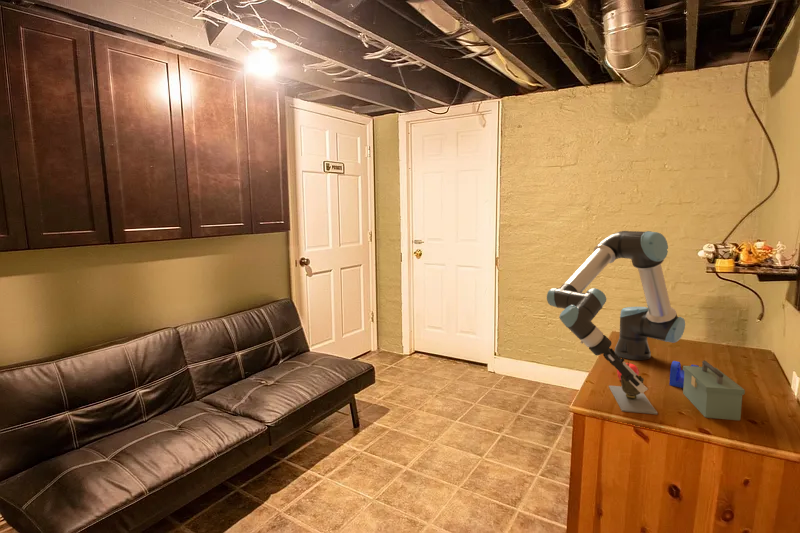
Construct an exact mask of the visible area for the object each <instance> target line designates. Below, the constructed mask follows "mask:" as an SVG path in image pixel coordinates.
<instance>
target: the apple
mask: <svg viewBox="0 0 800 533" xmlns="http://www.w3.org/2000/svg"><path fill="white" fill-rule="evenodd" d="M625 363H626V364H627V365H628V366H629V367H630V368H631V369H632V370H633V371H634V372H635V373H636V374H637V375H638V376H640V375H639V374H640V372H639V368H638V367H637V365H635V364H633V363H630V362H629V361H628V362H625ZM616 373H617V378H618V379H619V380H620V381H621V375H622V374H621V373H620V372H619V371H618V370H617V369H616ZM635 377H636V376H635Z"/></svg>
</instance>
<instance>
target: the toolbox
mask: <svg viewBox="0 0 800 533" xmlns="http://www.w3.org/2000/svg"><path fill="white" fill-rule="evenodd" d="M701 363H702V366H699V367H696V366H691V365H682V370H684V386H683V388H682V393H683V395H684V396H685V397H686V398H687V399H688V401H689V402H690V403H691V404H692V405H693V406H694V408H696V409H697V410H698V412H699V413H700V414H701V415H703V417H704V418H706V419H719V420H721V419H722V420H731V421H741V415H742V403H743V396H744V395H745V394H746V390H745V389H744V388H743V387H742V386H741V385H739V384H738V383H736V381H734V380H733V379H732V378H730V377H729V376H728V375H726V374H725V373H724V372H722V371H721V370H720V369H719V368H717V367H715V366H713V365H712V364H710V363H709V362H708V361H707V360H702V362H701Z"/></svg>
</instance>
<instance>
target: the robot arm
mask: <svg viewBox="0 0 800 533" xmlns="http://www.w3.org/2000/svg"><path fill="white" fill-rule="evenodd" d="M668 249H669V245H668V241H667V239H666V237H665V236H664V235H663V234H662V233H660V232H658V231H657V232H656V231H649V230H647V231H639V230H638V231H637V230H636V231H634V230H621V231H617V232H615V233H612V234H610V235H609V236H606V237H605V238H603V239H602V240H601V241H600V242H598V243H597V244H596V246H595V247H594V248H593V252H592V253H591V254H590V255H589V256H588V258H587V259H585V261H583V263H582V264H581V265H579V267H578V268H577V269H576V270H575V271H574V272H573V273H572V274H571V275H570V276H569V277H568V279H566V280H565V281H564V283H563V284H562V285H561V286H560V287H559V288H558V287H552V288H550V289H549V290H548V291H547V294H546V301H547V303H548V305H549V306H551V307H554V308H558V309H562V311H561V312H560V313H559V317H558V318H559V320H560V321H561V323H562V324H564V326H565V327H566V328H567V329H569V331H571V332H572V333H573V335H575V336H576V337H577V338H578V339H579V340H580V344H581V345H582V344H584V345H585V347H587V348H588V349H589V350H590V351H591V353H593V354H594V356H601V355H602V356H603V358H604V359H605V360H606V361H607V362H609V363H610V365H611V366H612V367H614V368H615V369H616V371H617V370H618V371H619V372H620V373H621V374H622V375H623V376H624V377H625V378H626V380H625V381H626V382H627V381H629V382H630V383H631V384H632V385H633V386H634V387H635V388H636V389H637V390H638V391H639V392H640V393H641V394H642V393H644V394H645V392H647V391H648V390H649V388H648V387H647V386H645V384H644V383H643V384H642V383H641V382H640V381H639V380H638V379H637V378H636V377H635V376H636V375H637V374H636V373H635V372H634V371H633V370H632V369H631V368H630V367H629V366H628V365H627V364H626V363H627V362H625V359H626V360H634V361H646V360H649V359H651V356H652V354H651V350H650V346H649V342H648V338H650V339H654V340H658V341H662V342H665V343H667V342H668V343H672V344H673V343H674V344H675V343H677V342H678V341H680V339H682V337H683V335H684V332H685V330H686V320H685V319H684V318H683V317H682V316H678V314H677V310H676V309H675V308H673V307H672V306H671V302H670V298H669V293H668V290H667V289H668V288H667V285H666V281H665V275H664V272H663V268H662V264H663V262H664V261H665V259H666V258H667V255H668V253H669V251H668ZM617 259H626V260H627V259H629V260H631V262H632V266H633V267H634V268H636V269H637V271H638V274H639V278H640V282H641V286H642V290H643V293H644V297H645V301H646V305H647V306H627V307H624V308H622V309H621V310H620V316H619V337H618V341H617V342H616V345H615V347H614V349H613V348H611V346H612V341H611V339H610V338H609V337H608V336H606V335H605V334H604V333H603V332H602V331H601V330H600V328H598V326H596V325H595V324H594V322H592V321H593V319H594V318H595V317H596V315H597V314H598V313H599V312H600V311H601V310H602V309H603V307H604V305H605V304H606V302H607V296H606V294H605V293H604V292H603V291H602V290H600V289H598V288H595V287H592V288H590V289H588V290H587V291H586V292H584V291H585V289H587V287H588V286H589V285H590V284H591V283H592V282H593V281H594V280H595V279H596V278H597V276H599V275H600V273H601V272H602V271H603V270H604V269H605V268H606V267H607V266H608V264H612V263H614V262H615V260H617ZM628 375H629V376H628Z"/></svg>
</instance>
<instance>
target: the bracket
mask: <svg viewBox="0 0 800 533" xmlns="http://www.w3.org/2000/svg"><path fill="white" fill-rule="evenodd" d="M690 366H696V367H700V366H699V365H697V364H691V365H690ZM681 367H682V366H681V362H680V361H676V360H673V361H672V362H671V365H670V368H669V369H670V370H669V371H670V372H669V383H668V384H669V386H670V387H671V386H672V387H676V388H682V389H683V386H684V370H683V369H682V368H681Z"/></svg>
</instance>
